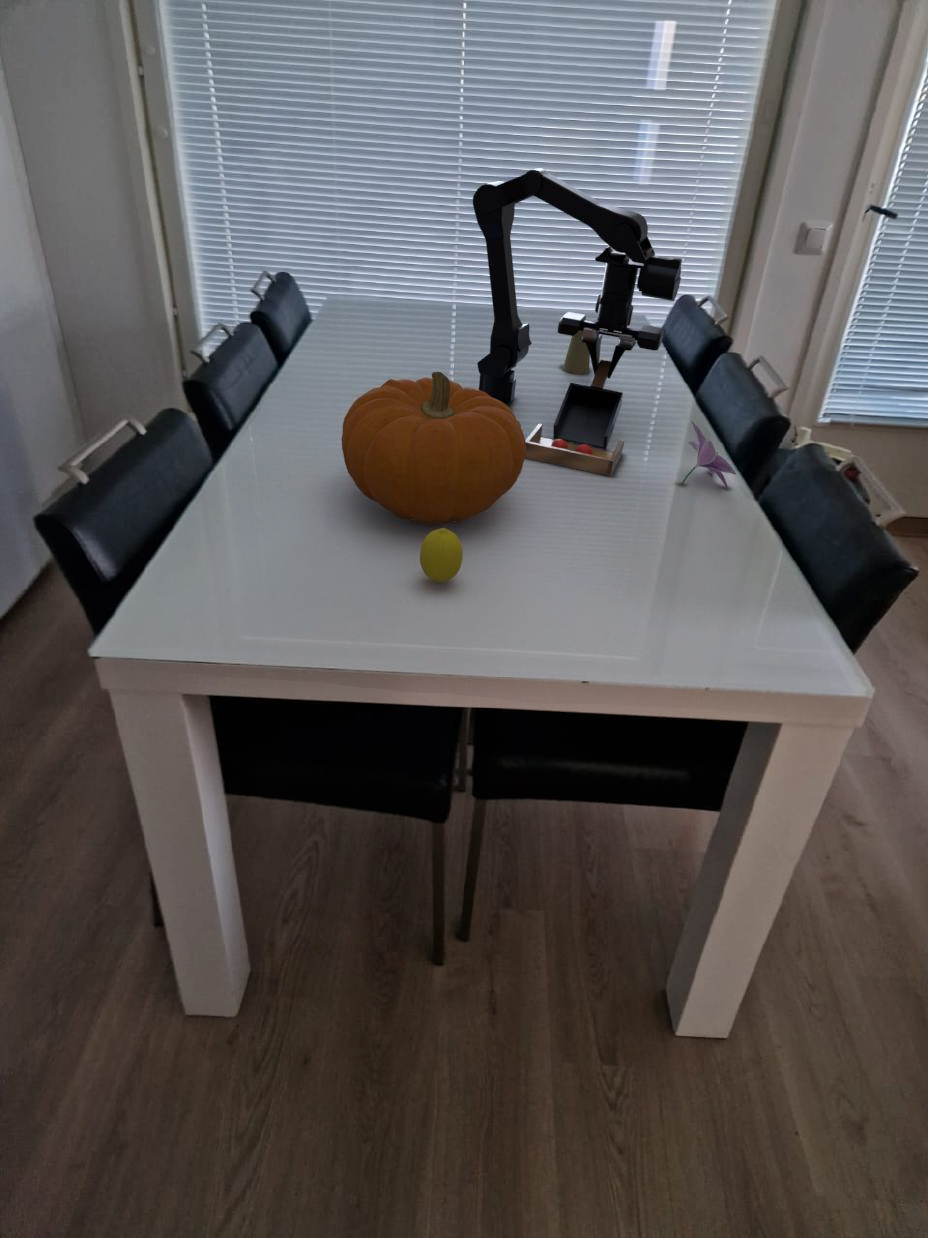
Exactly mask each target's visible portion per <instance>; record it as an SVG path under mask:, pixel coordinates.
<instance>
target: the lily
mask: <svg viewBox="0 0 928 1238" xmlns="http://www.w3.org/2000/svg"><path fill="white" fill-rule="evenodd" d="M690 422H691V425H692V427H693V429H694V431H695V434H696V438H697V442H696V441H693V440H692V441H691V440H690V441H688V445H690V446H692V448H693V449H694V450H695V452H697V460H696V465H694V466H693V468H691V470H690V471H689V472H688V473H687V474H686V476H685V477H684V479H683V480H682V482H681V483H680V485H684V483H685V482H686V480H687V479H688V478H689V476H690V475H691V474H692V473H693V471H695V469H697V468H698V467H701V468H705V469H707V470H708V473H710V474H716V475H717V477H718V478H719V479H720V481H721V482H722V483H723V485H724V486H725V488H726V489H727V490H728V487H729V486H728V483H727V481H726V478H725V476H724V474H723V473H725V474H732V475H737V473H736V471H735V469H734V468H733V467H732V465H731V464H730V463H729V461H727V459H725V458H724V457H723V456H721V455H719V452H718V451H717V450H716V448H715V446H714V444H713V442H712V440H709V439H708V440H707V438H706V435H704V433H703V431H702V430H701V429H700V428H699V426H697V424H696V422H694V421H693V420H690Z"/></svg>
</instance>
